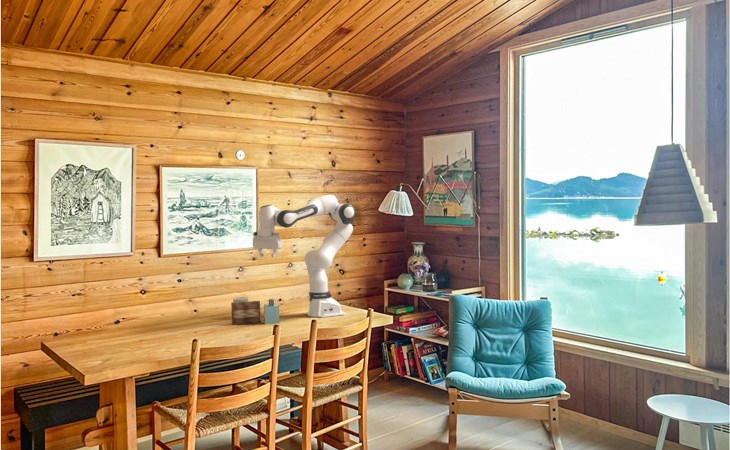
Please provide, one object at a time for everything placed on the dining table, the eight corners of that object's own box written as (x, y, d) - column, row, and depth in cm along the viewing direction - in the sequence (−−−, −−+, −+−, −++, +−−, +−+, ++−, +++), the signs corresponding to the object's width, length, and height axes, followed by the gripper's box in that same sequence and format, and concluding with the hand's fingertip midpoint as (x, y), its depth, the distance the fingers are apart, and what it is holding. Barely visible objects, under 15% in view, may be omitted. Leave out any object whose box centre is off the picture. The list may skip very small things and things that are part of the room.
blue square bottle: (277, 320, 341) (277, 297, 340) (279, 323, 332) (278, 299, 332) (263, 321, 339) (263, 298, 338) (265, 324, 330) (264, 300, 330)
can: (250, 316, 357) (250, 296, 356) (246, 318, 348) (245, 298, 347) (236, 316, 358) (235, 296, 357) (231, 319, 348) (230, 298, 348)
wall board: (260, 321, 339) (259, 300, 338) (261, 323, 333) (260, 302, 333) (231, 323, 335) (231, 302, 334) (232, 325, 329) (231, 304, 328)
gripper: (284, 232, 337) (284, 256, 337) (258, 232, 348) (258, 255, 348) (276, 233, 331) (277, 257, 332) (250, 233, 343) (251, 256, 343)
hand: (267, 256), depth 340 cm, fingers open, 8 cm apart
